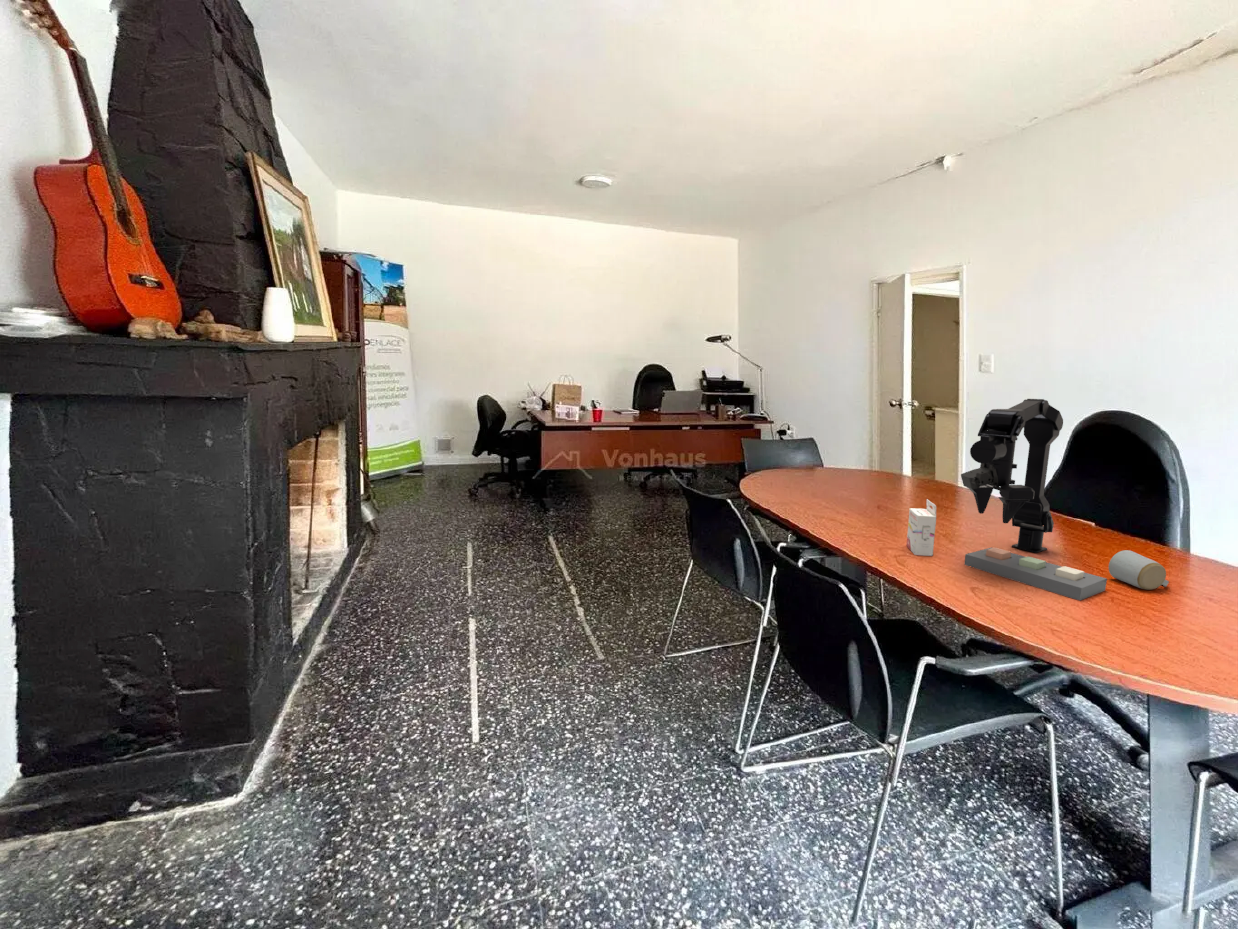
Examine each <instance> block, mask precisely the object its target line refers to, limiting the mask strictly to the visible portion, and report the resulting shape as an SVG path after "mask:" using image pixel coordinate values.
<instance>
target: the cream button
mask: <svg viewBox="0 0 1238 929" xmlns="http://www.w3.org/2000/svg"><path fill="white" fill-rule="evenodd" d="M1084 573H1085V571H1083V570H1081V569H1077V568H1073V567H1070V566H1066V565H1064V566H1062V567H1061V568H1058V569H1056V573H1055V575H1056V576H1059V577H1063V578H1067V579H1070V580H1074V581H1078V580H1080V579H1083V577H1084Z"/></svg>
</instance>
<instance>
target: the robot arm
mask: <svg viewBox="0 0 1238 929" xmlns="http://www.w3.org/2000/svg"><path fill="white" fill-rule="evenodd" d="M1063 426H1064V419H1063V416H1062V414H1061V411H1060V410H1058V409H1057V408H1056V407H1054V406H1052V405H1051V404H1050V403H1049V401H1048V400H1046V399H1044V398H1027V399H1024V400H1023V401H1022V402H1020V403H1017V404H1016V405H1013V406H1011V407H1008V408H993V409H991V410H989V412H988V413H987V414H986V415H985V417H984V419H983V421H982V423H981V426H980V428H979V430H978V433H977V437H980V438H979V439H980V440H978V441H975V442H974V443H973V444H972V446H971V447H970V450H969V454H970V457H971V458H972V460H974V461H975V462H976V463H979V464H980V466H979V467H978V468H975V469H972V470H969V471H966V472H963V473H961V474H960V478H961V481H962V485H963V487H965V488H967V489H969V491H971V492H972V494H973V497H974V500H975V503H976V507H977V512H978V514H980V515H981V514H982V515H983V514H984V513H985V511H986V509H987V507H988V503H989V502H990V498H991V496H992V493H993V490H997V491H999V493H998V494H999V495H1000V496H998V499H999V501H1000V502H1001V503H1002V523H1003V524H1009V522H1010V521H1011V526H1012V527H1017V528H1019V529H1018V530H1019V531H1018V537H1017V538H1018V539H1017V543H1014V544H1012V545H1011V547H1012V548H1015V549H1020V550H1022V551H1026V552H1031V553H1034V554H1038V553H1041V552H1045V551H1047V550H1048V547H1046V546H1043V541H1044V533H1053V530H1054V524H1055V522H1054V519H1053V517H1052V513H1051V511H1050V507H1051V506H1050V503H1049V501H1048V500H1047V498H1046V496H1045V489H1046V488H1045V487H1046V482H1047V471H1048V464H1049V458H1050V449H1051V444H1052V443H1053V442H1054V441H1055V440H1056V439H1058V437H1059V435H1060V433H1061V430H1062V429H1063ZM1022 430H1023V436H1024V438H1025V439H1026V441H1027V442H1028V444H1029V446H1028V453H1027V454H1028V455H1027V462H1026V470H1025V471H1026V472H1025V478H1024V484H1016V480H1015V479H1012V474H1013V469H1017V467H1018V463H1014V456H1015V450H1016V449H1015V448H1016V441H1018V437H1019V436H1020V434H1021V432H1022Z"/></svg>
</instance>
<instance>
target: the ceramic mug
mask: <svg viewBox="0 0 1238 929" xmlns="http://www.w3.org/2000/svg"><path fill="white" fill-rule="evenodd" d="M1108 571H1109V574H1110V576H1112V578H1114V579H1116V580H1119V581H1121V582H1124V583H1127V584H1129V585H1132V586H1134V587H1136V588H1139V589H1142V590H1145V591H1147V590H1148V591H1150V590H1152V591H1153V590H1155V589H1157V588H1160V587H1161V586H1162V585H1163V586H1162V587H1165V588H1166V587H1167V586H1168V585H1169V583H1170V581H1169V580H1167V579H1166V578H1167V571H1166V568H1165V567H1164V566H1163V565H1162V564H1161V563H1159V562H1158V561H1155V560H1154V559H1151V558H1148V557H1146V556H1143V555H1141V554H1139V553H1137V552H1135V551H1132V550H1130V549H1128V550H1127V549H1126V550H1121V551H1118V552H1117V553H1115V554H1114V555H1113V556H1112V557H1111V558H1110V560H1109V562H1108Z"/></svg>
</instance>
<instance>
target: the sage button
mask: <svg viewBox="0 0 1238 929" xmlns="http://www.w3.org/2000/svg"><path fill="white" fill-rule="evenodd" d="M1046 562H1047V561H1046V560H1043V559H1040V558H1037V557H1036V558H1035V557H1032V556H1025V557H1024V558H1021V559H1019V565H1021V566H1024V567H1028V568H1031V569H1035V570H1039V569H1042V568H1045V564H1046Z"/></svg>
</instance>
